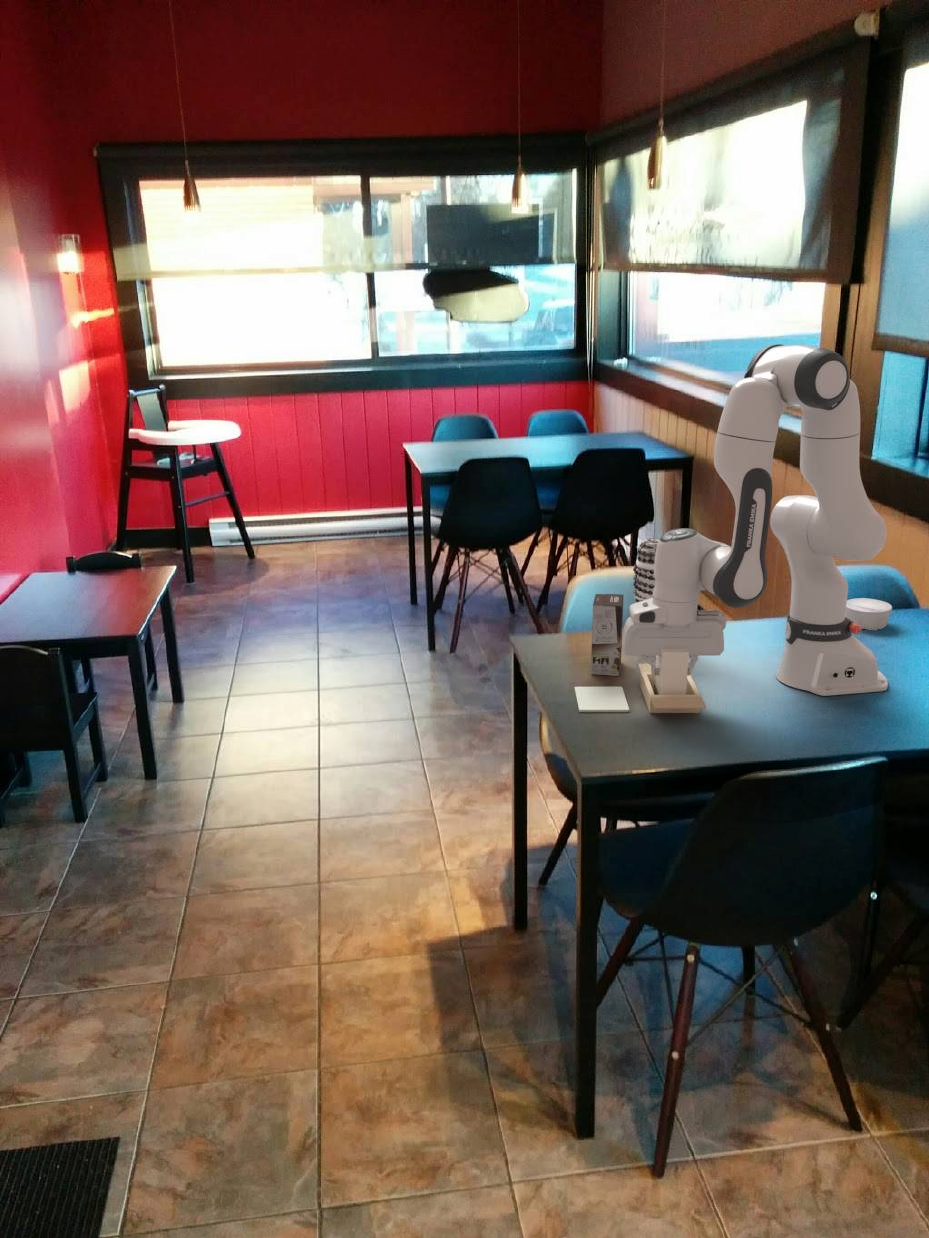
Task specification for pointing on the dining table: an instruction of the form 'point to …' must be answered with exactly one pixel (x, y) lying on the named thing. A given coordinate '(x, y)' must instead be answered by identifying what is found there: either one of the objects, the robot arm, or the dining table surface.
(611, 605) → the coffee box
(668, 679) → the cream box
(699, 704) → the beige hollow rectangular block
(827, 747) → the dining table surface
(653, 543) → the decorative candle
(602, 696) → the white rectangular plate
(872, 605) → the ramekin
